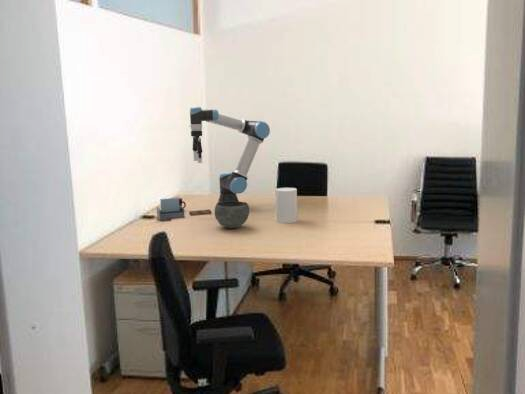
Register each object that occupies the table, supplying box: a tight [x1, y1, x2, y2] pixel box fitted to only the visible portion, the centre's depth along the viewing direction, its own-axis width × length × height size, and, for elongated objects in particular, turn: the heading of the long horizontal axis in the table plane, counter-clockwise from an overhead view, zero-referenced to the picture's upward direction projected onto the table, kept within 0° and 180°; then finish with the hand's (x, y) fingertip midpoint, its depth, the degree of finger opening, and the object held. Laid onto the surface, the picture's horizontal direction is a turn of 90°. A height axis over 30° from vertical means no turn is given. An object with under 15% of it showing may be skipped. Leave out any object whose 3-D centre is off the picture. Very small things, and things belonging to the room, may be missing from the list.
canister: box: [274, 187, 298, 224], centre depth 365 cm, size 14×14×20 cm
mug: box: [174, 197, 187, 209], centre depth 399 cm, size 11×8×10 cm
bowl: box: [214, 201, 250, 229], centre depth 351 cm, size 21×21×15 cm
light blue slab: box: [159, 197, 180, 213], centre depth 382 cm, size 12×2×12 cm, turn 108°
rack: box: [156, 205, 185, 222], centre depth 382 cm, size 16×13×7 cm
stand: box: [188, 209, 212, 217], centre depth 389 cm, size 14×7×3 cm, turn 108°
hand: (197, 161), depth 394 cm, fingers open, 13 cm apart
